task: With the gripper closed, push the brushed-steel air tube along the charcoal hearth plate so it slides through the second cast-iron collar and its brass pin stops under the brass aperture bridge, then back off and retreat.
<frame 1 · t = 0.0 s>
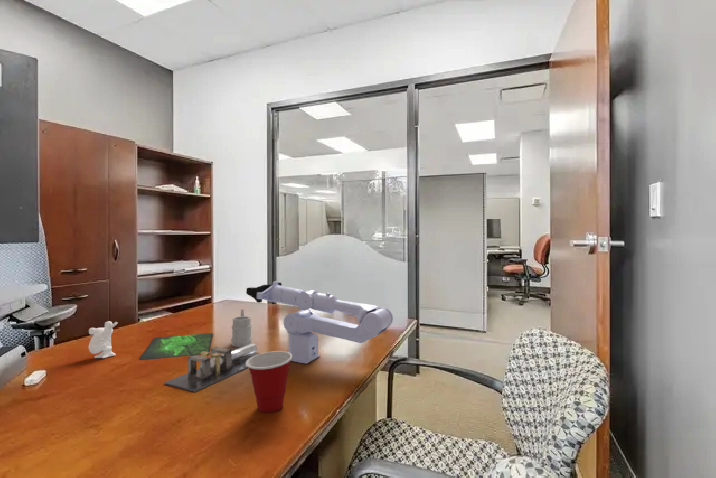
hand: (254, 289, 131), 22 cm above the table, tool horizontal, fingers open, 7 cm apart
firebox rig: (223, 369, 113), on the table
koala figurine: (103, 357, 124), on the table
mouse mat: (180, 347, 137), on the table
air tube: (230, 355, 115), point 3 cm above the table, slide at 0.0 cm
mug: (242, 343, 141), on the table
plastic cup: (269, 408, 88), on the table
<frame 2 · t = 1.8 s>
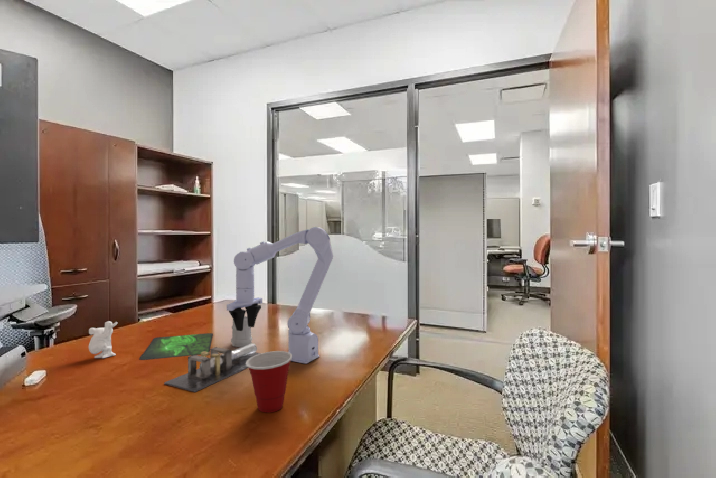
hand: (245, 328, 123), 10 cm above the table, tool pointing down, fingers open, 5 cm apart
nothing on the table moved.
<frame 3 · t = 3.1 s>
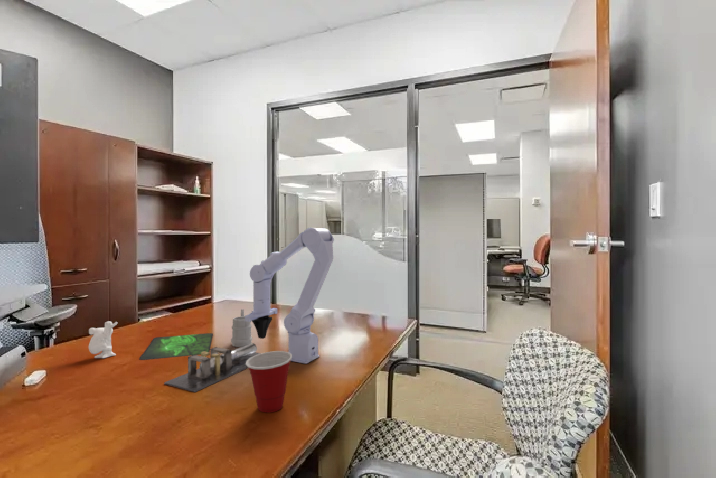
hand: (261, 338, 129), 5 cm above the table, tool pointing down, fingers closed
nothing on the table moved.
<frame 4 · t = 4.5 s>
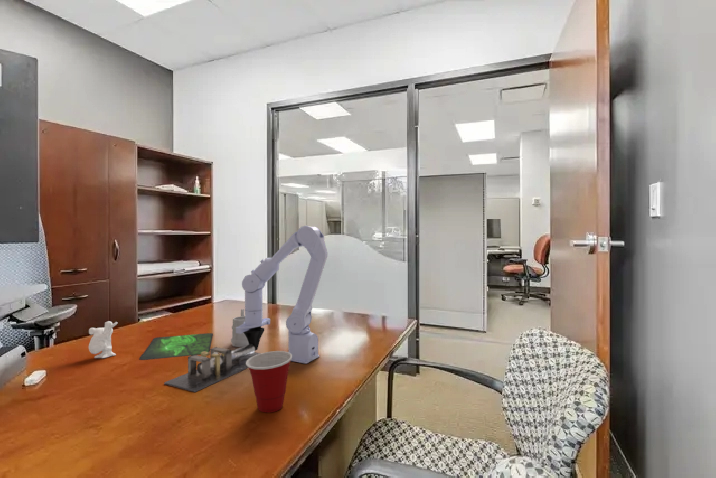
hand: (254, 349, 125), 2 cm above the table, tool pointing down, fingers closed
air tube: (228, 356, 115), point 3 cm above the table, slide at 0.9 cm, touching gripper
everything else where it was.
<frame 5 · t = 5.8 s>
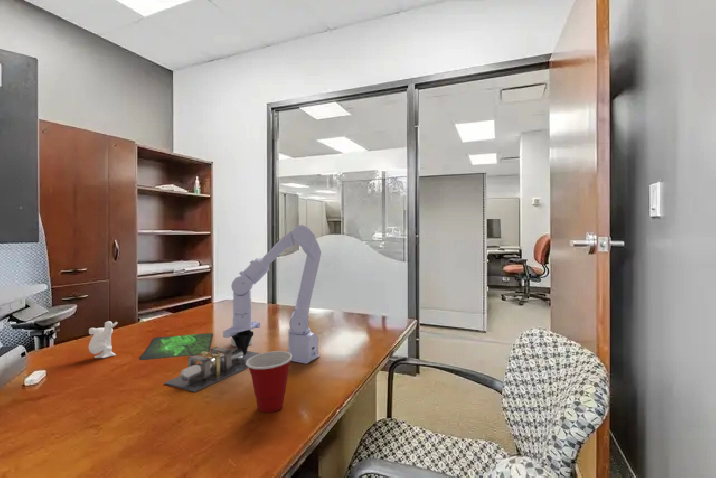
hand: (242, 354, 120), 2 cm above the table, tool pointing down, fingers closed
air tube: (214, 362, 110), point 3 cm above the table, slide at 6.3 cm, touching gripper
everything else where it was.
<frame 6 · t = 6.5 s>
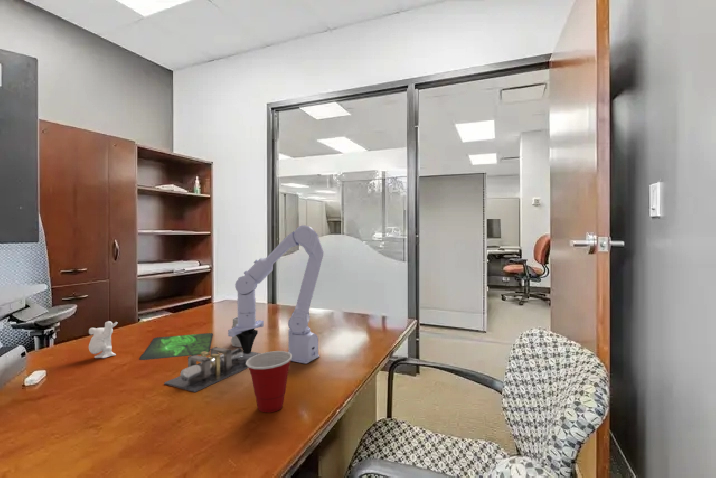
hand: (247, 353, 122), 2 cm above the table, tool pointing down, fingers closed
air tube: (214, 362, 110), point 3 cm above the table, slide at 6.3 cm
everything else where it was.
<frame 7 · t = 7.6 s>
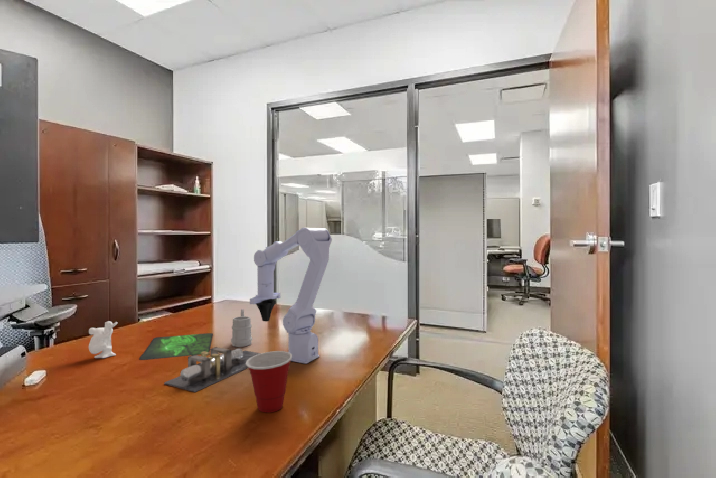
hand: (265, 320, 133), 10 cm above the table, tool pointing down, fingers closed
nothing on the table moved.
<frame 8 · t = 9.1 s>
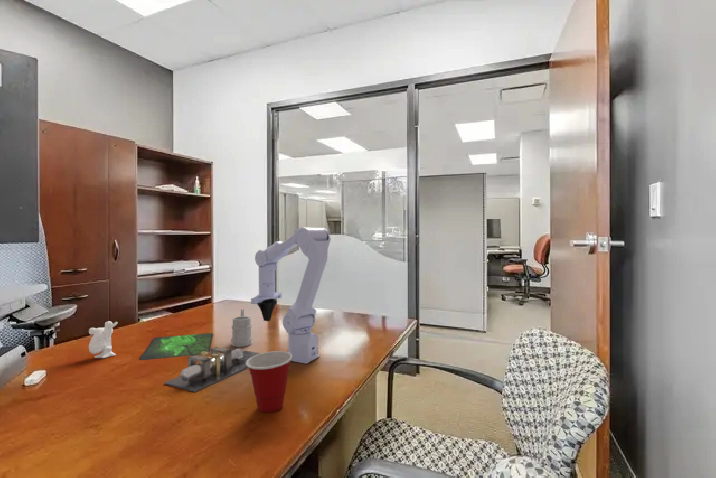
hand: (267, 320, 134), 10 cm above the table, tool pointing down, fingers closed
nothing on the table moved.
at the end: air tube slide at 6.3 cm; the gripper is holding nothing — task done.
